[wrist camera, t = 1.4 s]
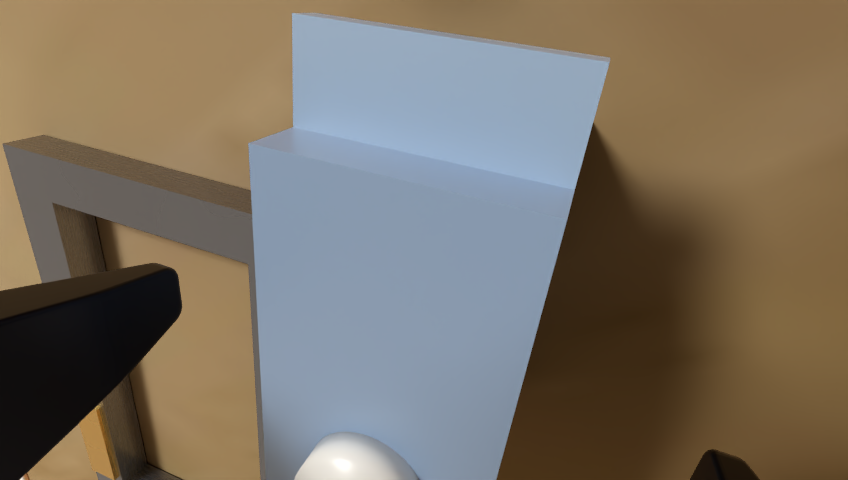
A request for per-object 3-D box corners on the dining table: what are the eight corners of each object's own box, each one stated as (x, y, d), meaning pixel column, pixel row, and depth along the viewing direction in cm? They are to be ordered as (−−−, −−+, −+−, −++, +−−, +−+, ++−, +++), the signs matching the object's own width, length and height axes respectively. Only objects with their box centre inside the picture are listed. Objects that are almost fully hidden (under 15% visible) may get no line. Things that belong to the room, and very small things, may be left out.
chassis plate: (323, 209, 13) (292, 230, 12) (315, 564, 20) (296, 598, 19) (43, 135, 15) (-5, 145, 14) (126, 473, 23) (98, 499, 22)
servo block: (613, 40, 9) (604, 80, 4) (510, 421, 14) (444, 671, 9) (415, 11, 10) (202, 13, 5) (380, 375, 15) (250, 573, 10)
